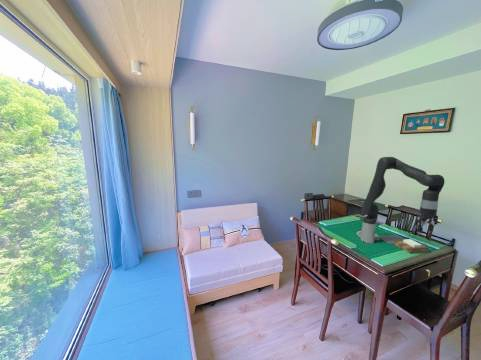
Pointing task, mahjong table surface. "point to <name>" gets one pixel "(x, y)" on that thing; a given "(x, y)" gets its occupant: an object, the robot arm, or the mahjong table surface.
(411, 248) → the deck
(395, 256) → the mahjong table surface
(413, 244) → the card
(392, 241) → the mat
